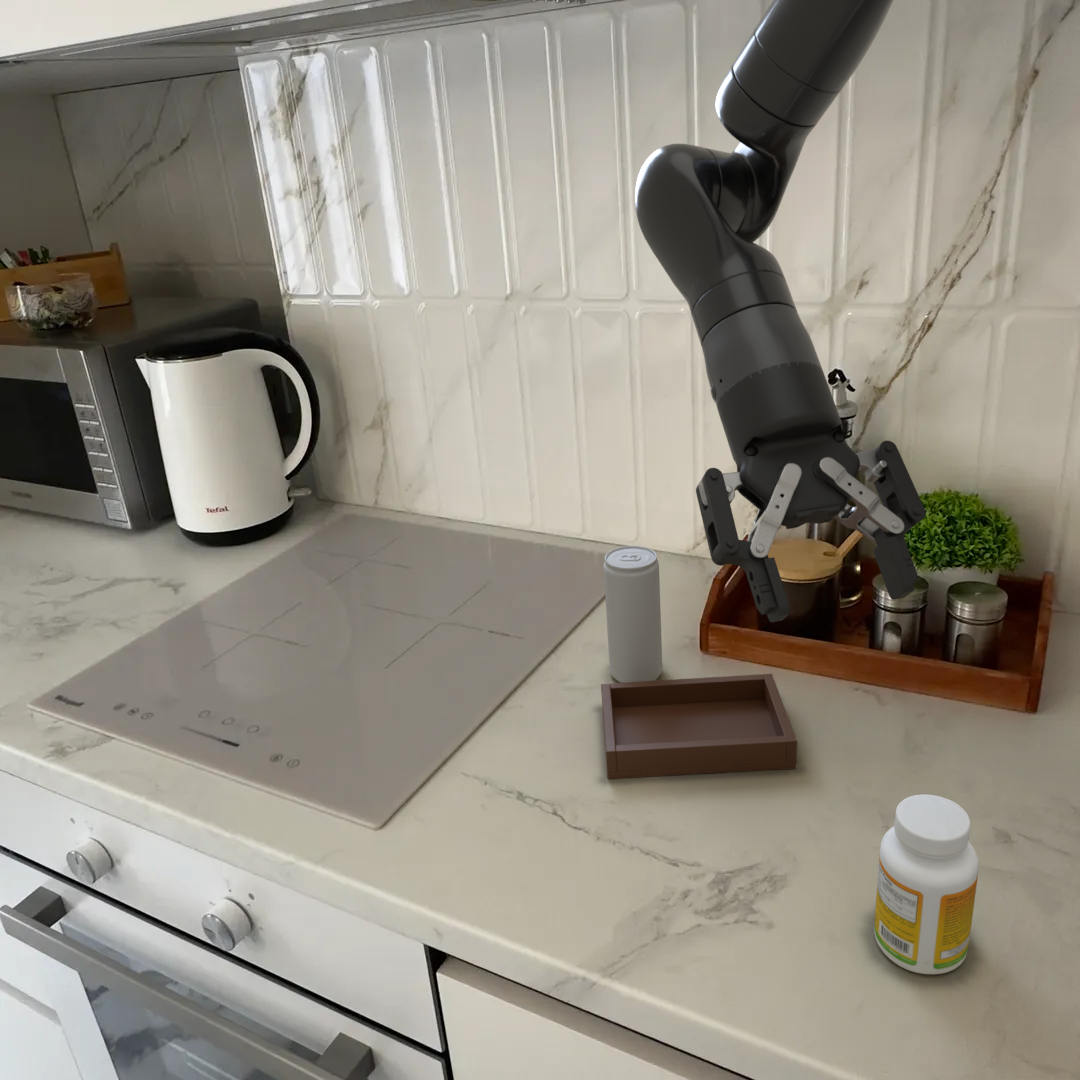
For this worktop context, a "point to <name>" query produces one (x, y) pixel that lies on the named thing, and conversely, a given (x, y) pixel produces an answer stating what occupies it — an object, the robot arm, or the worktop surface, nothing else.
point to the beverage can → (633, 613)
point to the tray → (696, 726)
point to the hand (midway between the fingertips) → (843, 606)
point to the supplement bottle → (926, 886)
